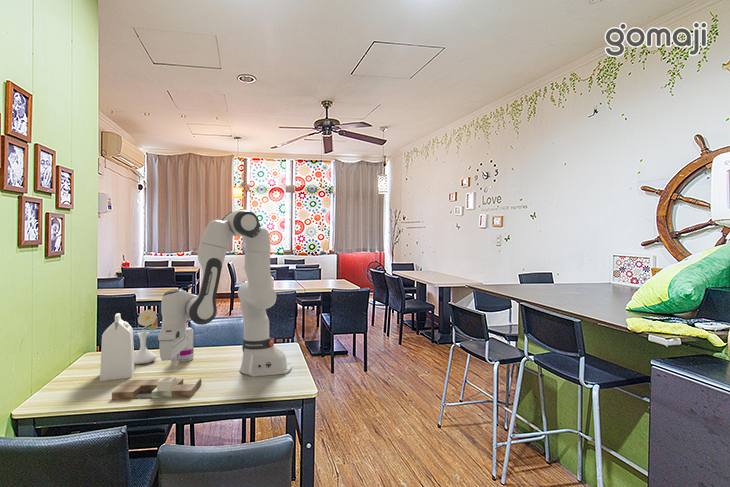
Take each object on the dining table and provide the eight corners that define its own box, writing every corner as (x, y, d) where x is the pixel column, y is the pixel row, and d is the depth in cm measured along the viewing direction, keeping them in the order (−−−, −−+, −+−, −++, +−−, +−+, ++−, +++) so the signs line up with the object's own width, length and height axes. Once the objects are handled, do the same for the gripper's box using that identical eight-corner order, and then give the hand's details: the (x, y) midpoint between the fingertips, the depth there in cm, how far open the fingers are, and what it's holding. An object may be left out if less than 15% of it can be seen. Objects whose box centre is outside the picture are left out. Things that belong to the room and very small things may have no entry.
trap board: (201, 384, 169) (201, 378, 169) (191, 397, 156) (191, 390, 156) (128, 386, 166) (128, 379, 166) (111, 399, 153) (111, 392, 153)
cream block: (176, 386, 160) (176, 376, 160) (170, 390, 155) (170, 381, 155) (162, 386, 160) (162, 377, 160) (157, 391, 155) (156, 381, 155)
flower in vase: (123, 365, 193) (123, 311, 192) (141, 358, 204) (140, 306, 204) (148, 367, 191) (148, 312, 190) (165, 359, 202) (164, 307, 201)
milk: (104, 372, 183) (104, 312, 183) (134, 368, 188) (134, 311, 187) (99, 381, 172) (99, 318, 172) (131, 377, 177) (131, 315, 176)
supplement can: (187, 362, 197) (187, 330, 197) (171, 361, 198) (171, 330, 198) (196, 357, 205) (196, 327, 205) (181, 356, 207) (181, 326, 206)
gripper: (175, 324, 177) (176, 357, 177) (155, 337, 156) (157, 373, 157) (190, 324, 177) (191, 356, 178) (173, 336, 157) (174, 373, 157)
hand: (175, 364), depth 167 cm, fingers closed
